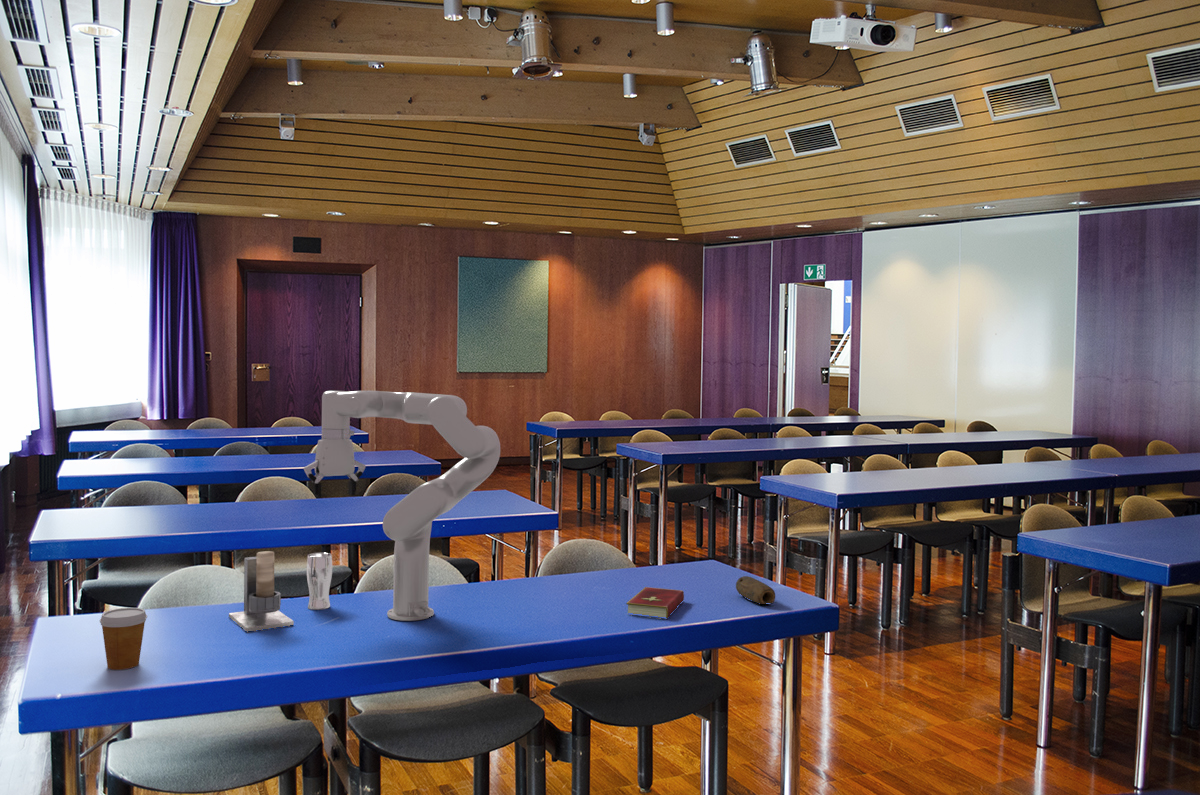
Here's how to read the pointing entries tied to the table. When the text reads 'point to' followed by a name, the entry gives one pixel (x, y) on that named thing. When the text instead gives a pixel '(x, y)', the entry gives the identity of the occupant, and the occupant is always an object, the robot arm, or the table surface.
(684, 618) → the table surface
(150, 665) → the table surface
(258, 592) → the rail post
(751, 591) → the stone weight
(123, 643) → the disposable coffee cup
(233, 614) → the cup bracket
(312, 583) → the beer glass
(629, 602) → the hardcover book
